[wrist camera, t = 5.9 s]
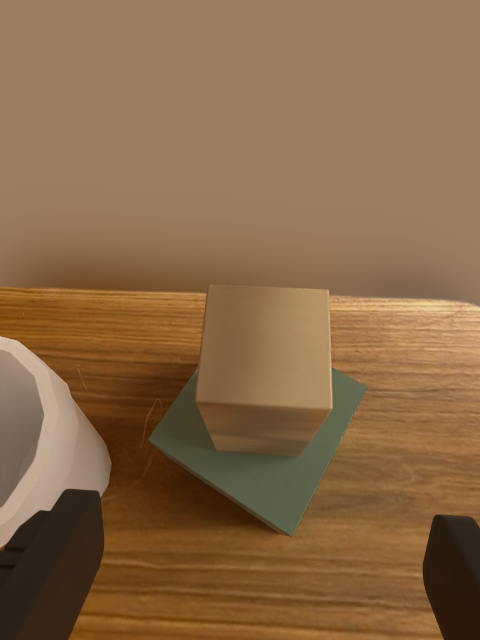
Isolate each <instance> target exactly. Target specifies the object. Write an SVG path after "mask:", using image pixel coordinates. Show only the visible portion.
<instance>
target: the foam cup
mask: <svg viewBox="0 0 480 640" xmlns="http://www.w3.org/2000/svg"><path fill="white" fill-rule="evenodd" d="M111 464H112V462H111V459H110V456H109V453H108V449H107V446H106V444H105V442H104V440H103V439H102V438H101V436H100V435H99V434H98V432H97V431H96V430H95V428H94V427H93V426H92V424H91V423H90V421H89V420H88V419H87V417H86V416H85V415H84V413H83V412H82V411H81V409H80V408H79V407H78V405H77V404H76V403H75V401H74V400H73V398H72V397H71V394H70V391H69V387H68V385H67V384H66V383H65V382H64V381H63V380H62V379H61V378H60V377H59V376H58V375H57V374H56V373H55V372H54V371H53V370H51V369H50V368H49V367H48V366H47V365H46V364H45V363H44V362H43V361H42V360H41V359H40V358H38V357H37V356H36V355H35V354H33V353H32V352H31V351H30V350H29V349H27V348H26V347H25V346H24V345H22V344H21V343H20V342H19V341H16V340H12V339H8V338H4V337H0V548H1V547H2V546H3V545H5V544H6V543H8V541H9V540H10V539H11V537H12V536H13V534H14V533H15V532H16V530H17V529H18V527H19V526H20V525H22V524H23V523H24V522H25V521H27V520H28V519H29V518H30V517H32V516H33V515H34V514H35V513H37V512H38V511H39V510H46V511H51V509H52V508H53V506H54V504H55V503H56V501H57V500H58V498H59V497H60V495H61V494H62V492H63V491H64V490H65V489H83V490H97V491H98V492H99V494H100V498H101V497H102V495H103V493H104V492H105V490H106V488H107V487H108V485H109V478H110V471H111Z"/></svg>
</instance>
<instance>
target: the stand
mask: <svg viewBox="0 0 480 640" xmlns="http://www.w3.org/2000/svg"><path fill="white" fill-rule="evenodd" d="M197 374H198V367H197V369H196V370H195V372H194V373H193V374H192V376H191V377H190V379H189V380H188V382H187V383H186V385H185V386H184V387H183V389H182V390H181V392H180V393H179V395H178V396H177V397H176V399H175V400H174V402H173V403H172V405H171V406H170V407H169V409H168V410H167V412H166V413H165V415H164V416H163V418H162V419H161V420H160V422H159V423H158V425H157V426H156V428H155V429H154V430H153V432H152V433H151V435H150V436H149V438H148V439H147V440H148V441H149V442H150V443H151V444H152V445H154V446H155V447H156V448H157V449H158V450H159V451H161V452H162V453H163V454H164V455H165V456H166V457H168V458H169V459H170V460H172V461H173V462H175V463H176V464H177V465H179V466H180V467H182V468H183V469H185V470H186V471H188V472H189V473H191V474H192V475H194V476H195V477H197V478H198V479H200V480H201V481H203V482H204V483H206V484H207V485H209V486H210V487H212V488H213V489H214V490H216V491H217V492H219V493H220V494H222V495H223V496H225V497H226V498H228V499H229V500H231V501H232V502H234V503H235V504H237V505H238V506H240V507H241V508H243V509H244V510H246V511H247V512H249V513H250V514H251V515H253V516H254V517H256V518H257V519H259V520H260V521H262V522H263V523H265V524H266V525H268V526H269V527H271V528H272V529H274V530H275V531H277V532H278V533H280V534H281V535H285V536H290V537H292V536H293V534H294V532H295V530H296V528H297V526H298V524H299V522H300V520H301V518H302V516H303V514H304V512H305V510H306V508H307V506H308V504H309V502H310V500H311V498H312V496H313V494H314V492H315V490H316V488H317V486H318V484H319V482H320V480H321V478H322V476H323V474H324V473H325V471H326V469H327V467H328V465H329V463H330V461H331V459H332V457H333V455H334V453H335V451H336V449H337V447H338V445H339V443H340V441H341V439H342V437H343V435H344V433H345V431H346V429H347V427H348V425H349V423H350V421H351V419H352V417H353V415H354V413H355V411H356V409H357V407H358V405H359V403H360V401H361V399H362V397H363V395H364V393H365V391H366V389H367V386H365V385H363V384H361V383H359V382H358V381H356V380H354V379H352V378H350V377H348V376H347V375H345V374H343V373H341V372H339V371H337V370H336V369H334V368H332V398H333V409H332V411H331V412H330V413H329V415H328V416H327V418H326V419H325V421H324V422H323V423H322V425H321V426H320V428H319V429H318V431H317V432H316V434H315V435H314V436H313V438H312V439H311V441H310V442H309V444H308V445H307V447H306V448H305V449H304V451H303V452H302V454H301V455H300V456H299V457H296V456H280V455H265V454H250V453H234V452H219V451H216V449H215V446H214V444H213V442H212V439H211V437H210V435H209V432H208V430H207V428H206V426H205V423H204V421H203V419H202V416H201V414H200V412H199V409H198V407H197V405H196V402H195V392H196V383H197Z"/></svg>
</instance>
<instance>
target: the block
mask: <svg viewBox="0 0 480 640" xmlns="http://www.w3.org/2000/svg"><path fill="white" fill-rule="evenodd" d="M195 402H196V405H197V407H198V409H199V412H200V414H201V416H202V419H203V421H204V423H205V426H206V428H207V430H208V432H209V435H210V437H211V439H212V442H213V444H214V446H215V449H216V451H219V452H234V453H250V454H265V455H280V456H296V457H299V456H300V455H301V454H302V452H303V451H304V449H305V448H306V447H307V445H308V444H309V442H310V441H311V439H312V438H313V436H314V435H315V434H316V432H317V431H318V429H319V428H320V426H321V425H322V423H323V422H324V421H325V419H326V418H327V416H328V415H329V413H330V412H331V411H332V409H333V398H332V366H331V334H330V301H329V291H328V290H325V289H324V290H323V289H304V288H281V287H260V286H258V287H257V286H238V285H217V284H209V285H208V288H207V296H206V305H205V314H204V322H203V331H202V340H201V348H200V357H199V366H198V374H197V383H196V392H195Z"/></svg>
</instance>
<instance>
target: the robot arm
mask: <svg viewBox="0 0 480 640" xmlns="http://www.w3.org/2000/svg"><path fill="white" fill-rule="evenodd" d="M103 550H104V530H103V520H102V509H101V499H100V494H99V492H98V491H97V490H83V489H65V490H64V491H63V492H62V494H61V495H60V497H59V498H58V500H57V501H56V503H55V504H54V506H53V508H52V509H51V511H46V510H39V511H38V512H37V513H35V514H34V515H33V516H32V517H30V518H29V519H28V520H27V521H25V522H24V523H23V524H22V525H20V526H19V527H18V529H17V530H16V532H15V533H14V534H13V536H12V537H11V539H10V540H9V541H8V543H7V544H6V546H5V549H4V551H1V553H0V640H68V639H69V637H70V634H71V632H72V630H73V627H74V625H75V623H76V620H77V618H78V616H79V613H80V611H81V609H82V606H83V604H84V602H85V599H86V597H87V595H88V592H89V590H90V588H91V585H92V583H93V581H94V578H95V576H96V574H97V571H98V569H99V566H100V563H101V560H102V555H103ZM423 580H424V586H425V590H426V593H427V596H428V599H429V601H430V604H431V607H432V609H433V612H434V615H435V617H436V620H437V622H438V625H439V628H440V630H441V633H442V636H443V638H444V640H480V528H479V526H478V524H477V523H476V521H475V520H474V519H473V518H471V517H468V516H453V515H435V516H434V518H433V521H432V525H431V530H430V534H429V539H428V543H427V548H426V552H425V557H424V561H423Z"/></svg>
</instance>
